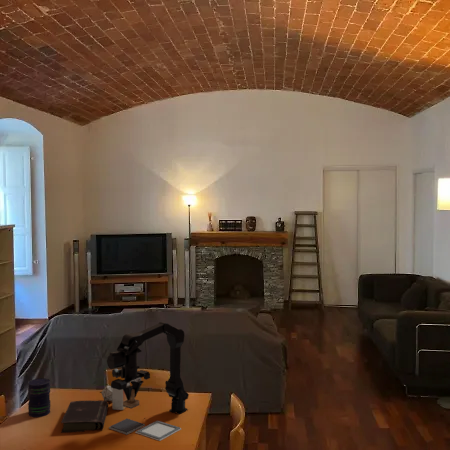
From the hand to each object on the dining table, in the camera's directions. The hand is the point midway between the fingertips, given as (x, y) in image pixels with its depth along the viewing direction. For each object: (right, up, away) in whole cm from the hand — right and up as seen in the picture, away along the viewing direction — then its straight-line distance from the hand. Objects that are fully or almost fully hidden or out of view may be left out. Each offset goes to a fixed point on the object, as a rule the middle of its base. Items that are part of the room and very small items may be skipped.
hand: (131, 398), depth 230 cm
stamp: (0, -3, 0) cm, 3 cm away
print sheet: (+12, -13, -3) cm, 18 cm away
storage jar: (-46, -12, +16) cm, 50 cm away
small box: (-9, -12, +24) cm, 28 cm away
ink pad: (-2, -13, +1) cm, 13 cm away
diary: (-23, -13, +9) cm, 27 cm away
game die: (-16, -12, +31) cm, 37 cm away
